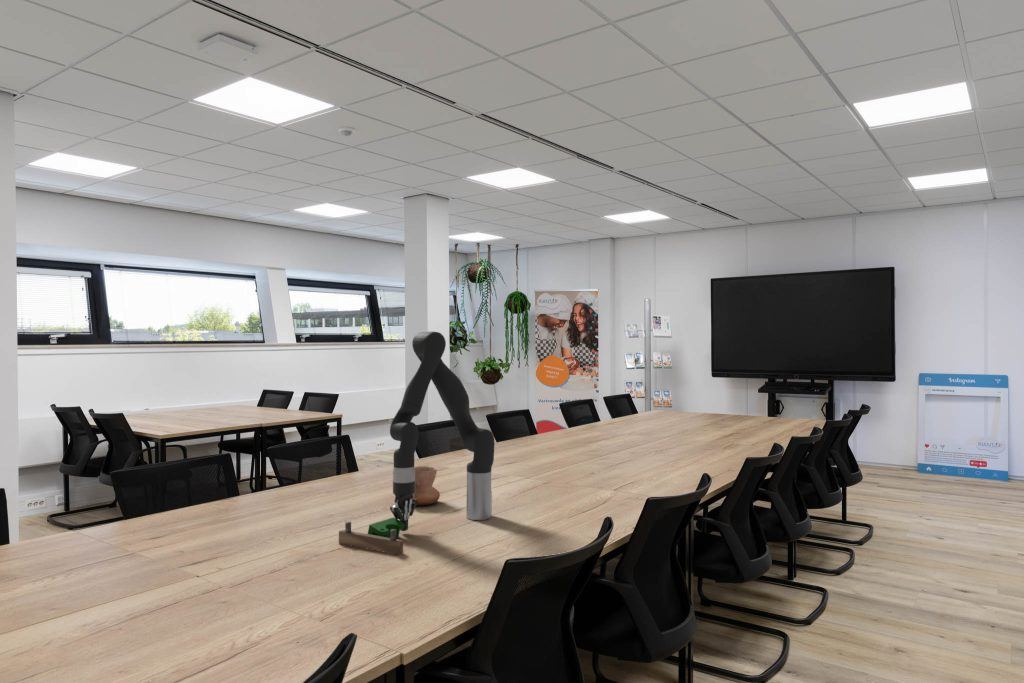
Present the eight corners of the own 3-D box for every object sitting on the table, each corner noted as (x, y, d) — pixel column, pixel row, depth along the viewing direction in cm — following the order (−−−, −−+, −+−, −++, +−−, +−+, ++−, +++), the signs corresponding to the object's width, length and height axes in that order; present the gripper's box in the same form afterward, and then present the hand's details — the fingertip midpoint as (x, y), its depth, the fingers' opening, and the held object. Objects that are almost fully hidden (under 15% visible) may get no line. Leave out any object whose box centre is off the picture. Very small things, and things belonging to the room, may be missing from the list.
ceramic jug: (419, 497, 272) (418, 463, 272) (448, 500, 266) (447, 466, 266) (393, 507, 256) (392, 471, 256) (423, 511, 250) (423, 474, 250)
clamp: (381, 556, 208) (377, 535, 204) (368, 549, 212) (365, 528, 208) (407, 535, 217) (405, 514, 213) (395, 527, 220) (392, 507, 216)
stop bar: (343, 542, 210) (343, 520, 210) (403, 553, 199) (403, 530, 199) (338, 543, 208) (338, 522, 208) (399, 555, 197) (399, 532, 197)
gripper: (401, 484, 212) (401, 537, 212) (424, 476, 224) (424, 526, 224) (382, 482, 215) (382, 534, 215) (406, 474, 227) (406, 523, 227)
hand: (404, 530), depth 220 cm, fingers closed
